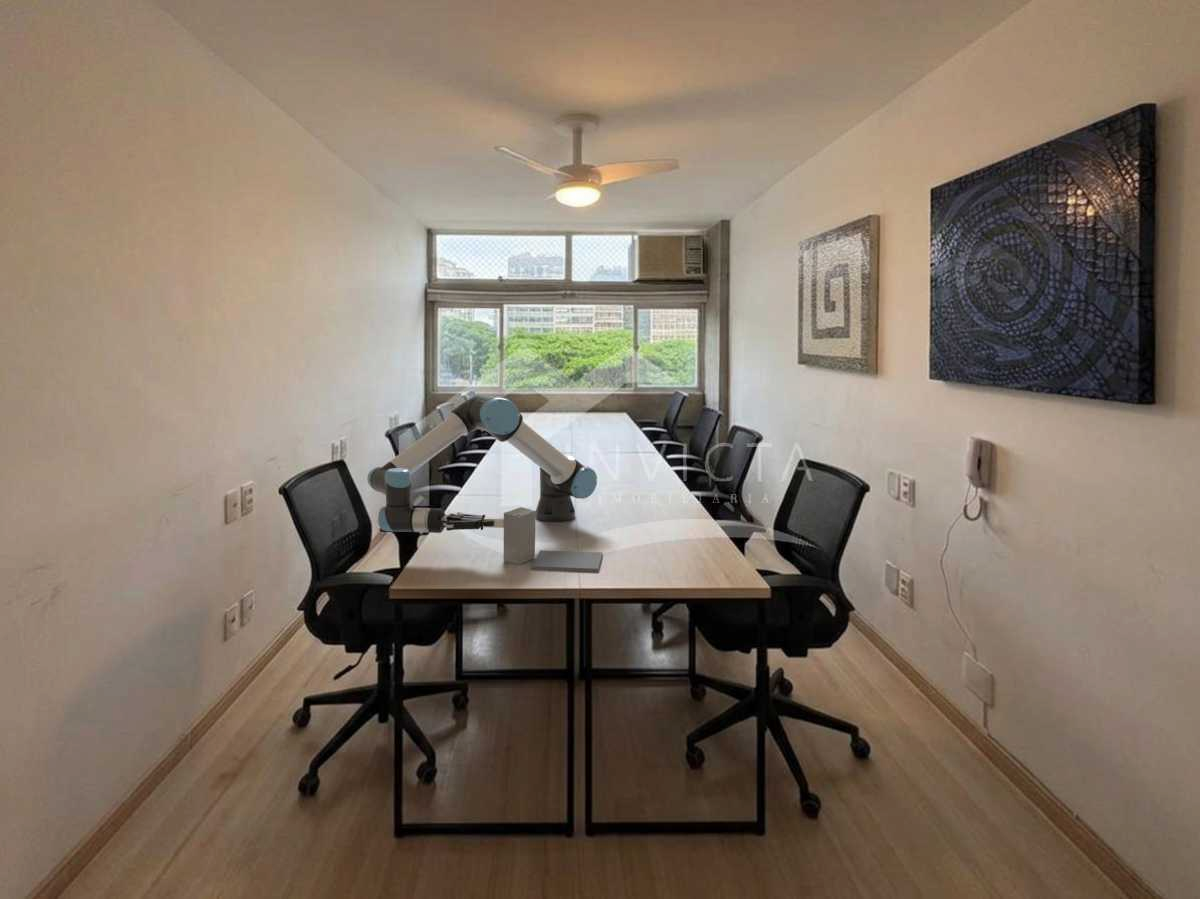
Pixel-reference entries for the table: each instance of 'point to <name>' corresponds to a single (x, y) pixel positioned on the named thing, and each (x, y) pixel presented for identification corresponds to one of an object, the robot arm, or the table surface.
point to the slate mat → (567, 561)
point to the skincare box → (519, 535)
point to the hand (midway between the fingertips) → (505, 522)
